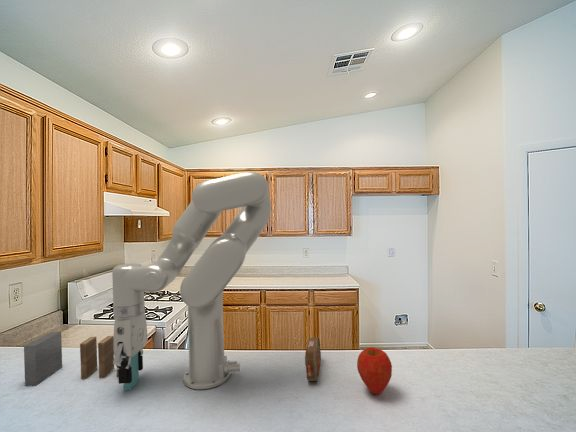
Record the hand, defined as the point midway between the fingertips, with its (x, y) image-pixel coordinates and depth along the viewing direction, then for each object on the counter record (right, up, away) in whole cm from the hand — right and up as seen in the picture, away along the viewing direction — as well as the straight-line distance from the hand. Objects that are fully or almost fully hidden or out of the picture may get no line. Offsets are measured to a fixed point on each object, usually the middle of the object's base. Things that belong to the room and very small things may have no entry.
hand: (131, 375), depth 82 cm
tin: (+50, -1, +4) cm, 50 cm away
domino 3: (0, -3, 0) cm, 3 cm away
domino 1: (-16, -3, +6) cm, 17 cm away
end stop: (-28, -3, +6) cm, 29 cm away
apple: (+64, -1, -7) cm, 65 cm away
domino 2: (-11, -3, +7) cm, 13 cm away
